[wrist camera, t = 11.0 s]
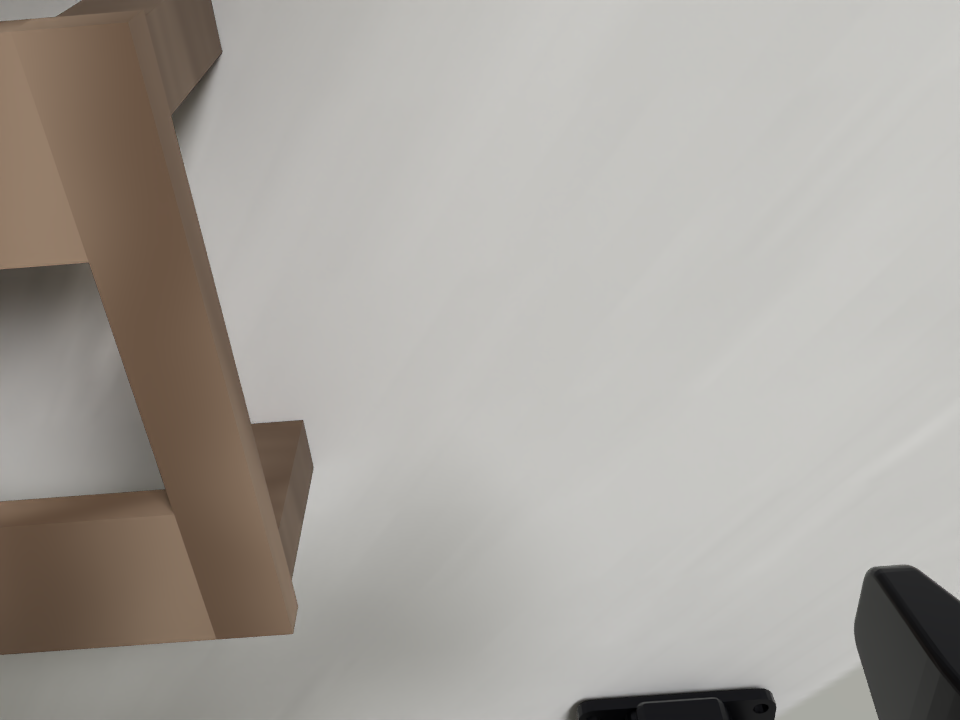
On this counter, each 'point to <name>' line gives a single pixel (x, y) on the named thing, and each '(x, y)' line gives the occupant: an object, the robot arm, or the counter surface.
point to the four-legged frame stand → (139, 348)
